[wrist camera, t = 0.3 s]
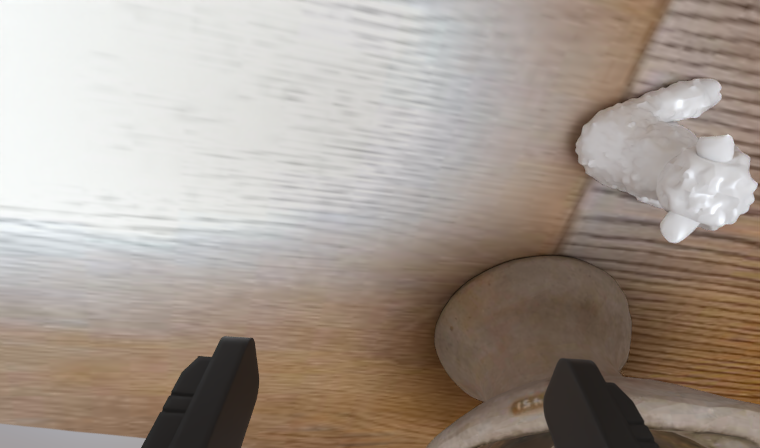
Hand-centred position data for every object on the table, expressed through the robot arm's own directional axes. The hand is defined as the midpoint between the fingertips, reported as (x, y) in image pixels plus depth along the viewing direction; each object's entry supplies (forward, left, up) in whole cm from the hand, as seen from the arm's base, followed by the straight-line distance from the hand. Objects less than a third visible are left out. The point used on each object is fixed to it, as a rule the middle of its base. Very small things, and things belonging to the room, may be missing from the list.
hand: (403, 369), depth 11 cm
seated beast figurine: (-9, +15, -22) cm, 28 cm away
